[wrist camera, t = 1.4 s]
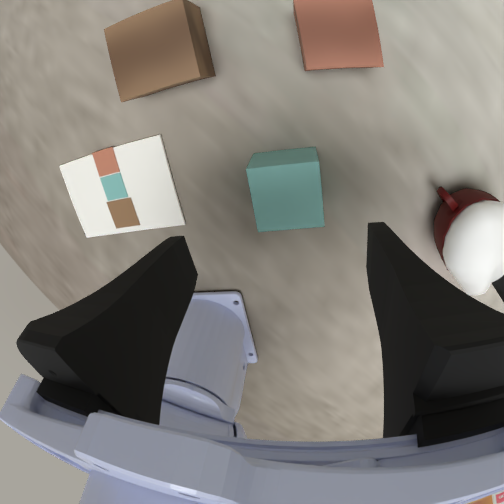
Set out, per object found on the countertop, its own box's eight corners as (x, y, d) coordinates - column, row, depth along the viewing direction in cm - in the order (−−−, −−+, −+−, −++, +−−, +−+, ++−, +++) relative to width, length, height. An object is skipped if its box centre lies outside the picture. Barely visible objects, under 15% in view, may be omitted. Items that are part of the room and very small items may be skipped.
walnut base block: (216, 75, 17) (200, 76, 14) (146, 95, 18) (121, 102, 15) (200, 8, 14) (181, -3, 11) (131, 32, 15) (103, 29, 13)
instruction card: (185, 223, 23) (184, 225, 23) (88, 236, 25) (86, 238, 25) (160, 132, 19) (158, 133, 19) (60, 164, 21) (58, 165, 21)
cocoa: (410, 181, 19) (484, 287, 9) (480, 152, 17) (586, 232, 7) (438, 280, 23) (481, 398, 13) (497, 255, 20) (559, 358, 10)
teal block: (320, 202, 21) (324, 226, 18) (263, 207, 22) (257, 232, 19) (315, 146, 19) (318, 161, 16) (253, 153, 19) (245, 169, 17)
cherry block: (368, 67, 15) (383, 66, 12) (304, 70, 16) (307, 69, 13) (358, 9, 13) (371, -3, 10) (293, 12, 14) (293, -1, 11)
